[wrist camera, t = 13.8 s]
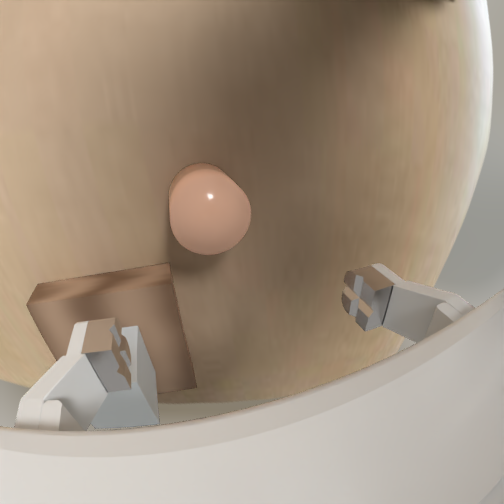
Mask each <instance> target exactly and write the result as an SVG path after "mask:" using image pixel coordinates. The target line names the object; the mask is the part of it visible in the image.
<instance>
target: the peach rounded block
mask: <svg viewBox="0 0 504 504" xmlns="http://www.w3.org/2000/svg"><path fill="white" fill-rule="evenodd" d="M169 211H170V225H171V229H172V232H173V234H174V236H175V238H176V239H177V240H178V242H179V243H180V244H181V245H182V246H183V247H185V248H186V249H188V250H190V251H192V252H194V253H197V254H202V255H214V254H219V253H222V252H225V251H227V250H229V249H231V248H232V247H234V246H235V245H236V244H237V243H238V242H239V241H240V240H241V239H242V238H243V237H244V235H245V234H246V232H247V230H248V228H249V225H250V220H251V207H250V203H249V200H248V198H247V196H246V194H245V193H244V192H243V190H242V189H241V188H240V187H239V186H238V185H237V184H236V183H235V182H234V181H233V180H232V179H231V178H230V177H229V176H227V175H226V174H225V173H224V172H223V171H222V170H221V169H220V168H218V167H216V166H214V165H211V164H207V163H197V164H193V165H190V166H188V167H186V168H184V169H182V170H181V171H180V172H179V173H178V174H177V175H176V176H175V178H174V179H173V181H172V183H171V186H170V189H169Z"/></svg>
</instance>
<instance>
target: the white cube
mask: <svg viewBox="0 0 504 504" xmlns="http://www.w3.org/2000/svg"><path fill="white" fill-rule="evenodd" d="M121 334H122V335H123V336H125V337H126V339H127V342H128V345H129V348H130V353H131V365H130V366H129V371H130V373H131V390H124V391H117V392H109V393H108V395H107V397H106V398H105V400H104V402H103V403H102V405H101V407H100V408H99V410H98V412H97V413H96V415H95V417H94V418H93V420H92V422H91V424H92V426H93V427H94V428H95V429H96V428H121V427H136V426H147V425H157V424H160V420H159V410H158V399H157V387H156V373H155V369H154V367H153V365H152V362H151V360H150V357H149V354H148V352H147V349H146V346H145V344H144V341H143V338H142V336H141V333H140V330H139V327H138V326H131V327H123V328H122V333H121Z"/></svg>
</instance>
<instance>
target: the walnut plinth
mask: <svg viewBox="0 0 504 504" xmlns="http://www.w3.org/2000/svg"><path fill="white" fill-rule="evenodd" d="M27 307H28V309H29V312H30V314H31V316H32V318H33V320H34V322H35V323H36V325H37V327H38V329H39V331H40V333H41V335H42V337H43V338H44V340H45V342H46V344H47V345H48V347H49V349H50V351H51V352H52V354H53V356H54V357H55V359H56V361H58V360H59V359H60V358H61V357H62V356H66V354H67V350H68V346H69V342H70V338H71V335H72V331H73V328H74V325H75V324H76V323H77V322H83V321H91V320H99V319H107V318H115V317H117V318H118V319H119V321H120V324H121V326H122V328H123V327H131V326H138V327H139V330H140V333H141V336H142V338H143V341H144V344H145V346H146V349H147V352H148V354H149V357H150V360H151V362H152V365H153V367H154V369H155V373H156V387H157V394H159V393H166V392H173V391H180V390H186V389H192V388H197V385H196V380H195V375H194V370H193V365H192V361H191V357H190V353H189V349H188V345H187V341H186V337H185V333H184V329H183V325H182V321H181V316H180V312H179V307H178V303H177V298H176V293H175V288H174V284H173V279H172V273H171V268H170V263H165V264H159V265H152V266H146V267H140V268H134V269H128V270H121V271H115V272H109V273H103V274H97V275H91V276H84V277H78V278H72V279H66V280H60V281H54V282H48V283H41V284H38V285H37V286H36V288H35V290H34V292H33V293H32V295H31V297H30V299H29V301H28V303H27Z"/></svg>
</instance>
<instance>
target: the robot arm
mask: <svg viewBox="0 0 504 504" xmlns="http://www.w3.org/2000/svg"><path fill="white" fill-rule="evenodd" d="M344 282H345V284H346V285H347V286H346V287H345V289H344V290H343V291H342V303H343V307H344V309H345V310H346V312H347V313H348V314H349V315H352V316H355V321H356V322H357V323H358V325H359V326H360V327H361V328H362V329H363V330H364V331H368V330H371V329H374V328H377V327H380V326H382V325H383V327H385V328H387V329H389V330H391V331H393V332H395V333H397V334H399V335H401V336H404V337H406V338H408V339H410V340H412V341H414V342H416V344H414V345H412V346H410V347H408V348H406V349H404V350H402V351H400V352H398V353H396V354H394V355H392V356H390V357H387V358H385V359H383V360H381V361H379V362H377V363H374V364H372V365H370V366H368V367H365V368H363V369H361V370H358V371H356V372H353V373H351V374H349V375H346V376H344V377H341V378H339V379H336V380H333V381H331V382H328V383H325V384H323V385H320V386H317V387H314V388H311V389H309V390H306V391H303V392H300V393H297V394H294V395H290V396H287V397H284V398H281V399H277V400H274V401H271V402H267V403H264V404H260V405H256V406H253V407H249V408H245V409H241V410H237V411H233V412H228V413H224V414H219V415H215V416H210V417H205V418H200V419H194V420H189V421H183V422H177V423H171V424H163V425H156V426H148V427H138V428H129V429H115V430H97V431H87V429H88V427H89V425H90V424H91V422H92V420H93V418H94V417H95V415H96V413H97V412H98V410H99V408H100V407H101V405H102V403H103V402H104V400H105V398H106V397H107V395H108V393H109V392H117V391H124V390H131V373H130V371H129V366H130V365H131V353H130V348H129V345H128V342H127V339H126V337H125V336H123V335H122V334H121V333H122V326H121V324H120V321H119V319H118V318H117V317H115V318H107V319H99V320H91V321H83V322H77V323H76V324H75V325H74V328H73V331H72V335H71V338H70V342H69V346H68V350H67V354H66V356H62V357H61V358H60V359H59V360H58V361H57V362H56V363H55V364H54V365H53V366H52V367H51V368H50V369H49V370H48V371H47V372H46V373H45V374H44V375H43V376H42V377H41V378H40V379H39V380H38V381H37V382H36V383H35V384H34V385H33V386H32V387H31V389H30V390H29V391H28V392H27V393H26V394H25V395H24V396H23V397H22V398H21V400H20V404H19V409H18V413H17V417H16V422H15V426H14V428H9V427H1V426H0V504H504V289H503V290H501V291H500V292H498V293H497V294H495V295H494V296H493V297H491V298H490V299H489V300H487V301H486V302H484V303H483V304H481V305H480V306H478V307H477V308H475V307H473V306H472V305H471V304H469V303H468V302H467V301H466V300H464V299H463V298H462V297H460V296H459V295H458V294H455V293H451V292H448V291H444V290H440V289H437V288H433V287H430V286H426V285H422V284H419V283H415V282H411V281H404V280H403V279H402V278H400V277H399V276H398V275H396V274H395V273H394V272H392V271H391V270H390V269H388V268H387V267H386V266H384V265H383V264H381V263H376V264H372V265H369V266H367V267H363V268H359V269H355V270H351V271H348V272H347V273H346V275H345V278H344Z"/></svg>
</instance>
